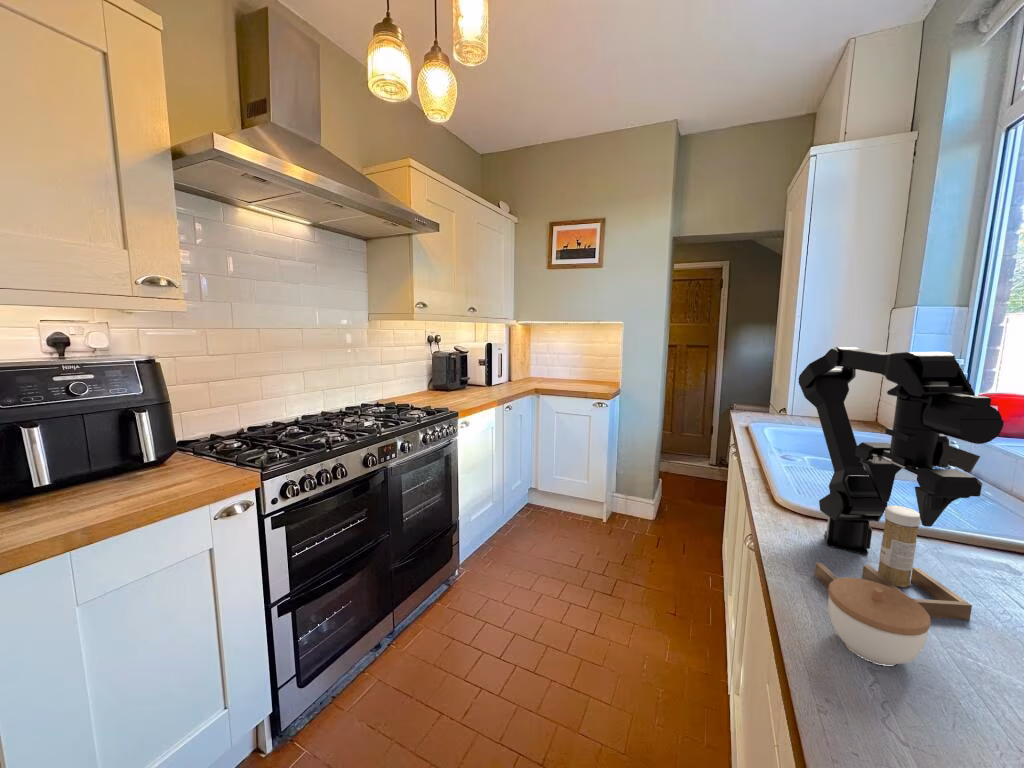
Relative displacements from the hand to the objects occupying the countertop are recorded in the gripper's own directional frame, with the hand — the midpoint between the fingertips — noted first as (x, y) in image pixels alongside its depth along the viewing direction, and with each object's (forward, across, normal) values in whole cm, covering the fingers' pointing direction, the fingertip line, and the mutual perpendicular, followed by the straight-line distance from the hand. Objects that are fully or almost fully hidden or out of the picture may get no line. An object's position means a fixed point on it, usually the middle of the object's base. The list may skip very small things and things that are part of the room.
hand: (904, 513), depth 72 cm
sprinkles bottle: (+13, 0, 0) cm, 13 cm away
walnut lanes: (+13, -4, +4) cm, 14 cm away
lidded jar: (+13, -17, +15) cm, 26 cm away
